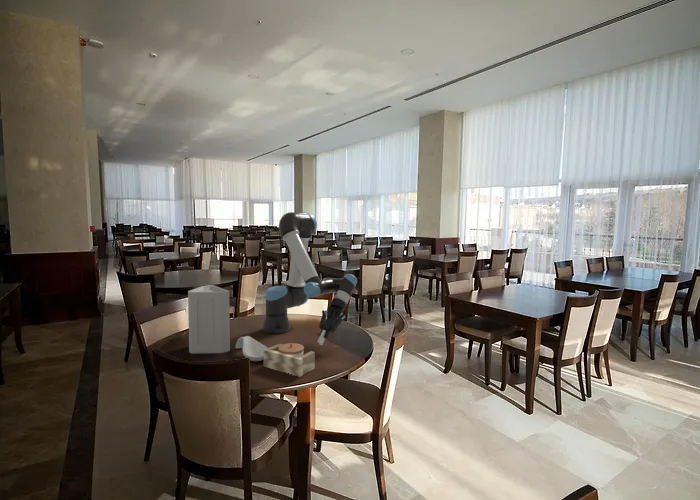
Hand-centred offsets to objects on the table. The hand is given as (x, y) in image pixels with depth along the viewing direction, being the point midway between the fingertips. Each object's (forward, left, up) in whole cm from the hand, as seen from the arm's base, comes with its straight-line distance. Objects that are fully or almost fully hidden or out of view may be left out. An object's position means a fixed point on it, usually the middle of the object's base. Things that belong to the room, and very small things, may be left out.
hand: (319, 343), depth 178 cm
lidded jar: (-1, -20, -4) cm, 20 cm away
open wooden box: (0, -22, -4) cm, 22 cm away
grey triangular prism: (-46, -27, -4) cm, 53 cm away
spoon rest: (-23, -21, -4) cm, 31 cm away
